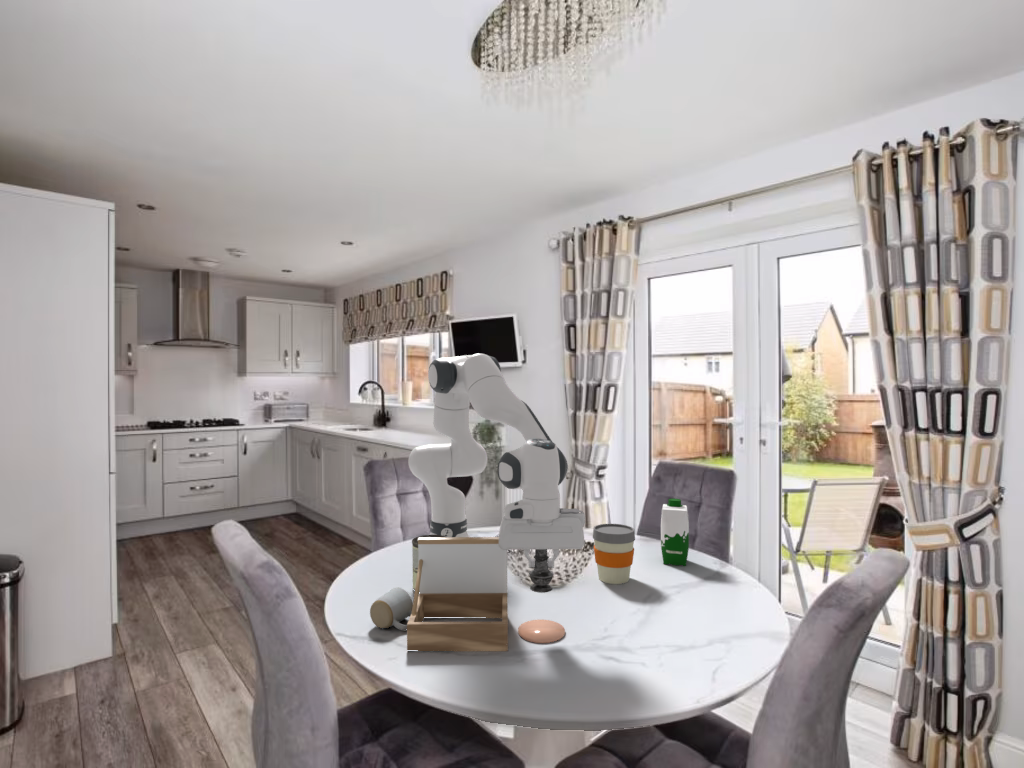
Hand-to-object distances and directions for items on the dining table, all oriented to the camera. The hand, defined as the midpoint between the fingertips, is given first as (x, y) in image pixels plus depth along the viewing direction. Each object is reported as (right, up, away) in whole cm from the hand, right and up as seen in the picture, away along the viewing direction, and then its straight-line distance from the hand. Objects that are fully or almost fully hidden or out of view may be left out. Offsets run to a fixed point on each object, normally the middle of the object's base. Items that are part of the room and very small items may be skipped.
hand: (541, 567), depth 129 cm
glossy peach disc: (0, -15, 0) cm, 15 cm away
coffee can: (-30, -15, +28) cm, 44 cm away
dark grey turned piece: (0, -5, 0) cm, 5 cm away
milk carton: (+46, -15, +51) cm, 70 cm away
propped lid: (-19, -10, +2) cm, 22 cm away
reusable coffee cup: (+24, -15, +35) cm, 45 cm away
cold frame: (-19, -15, 0) cm, 24 cm away
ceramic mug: (-35, -16, +4) cm, 39 cm away
